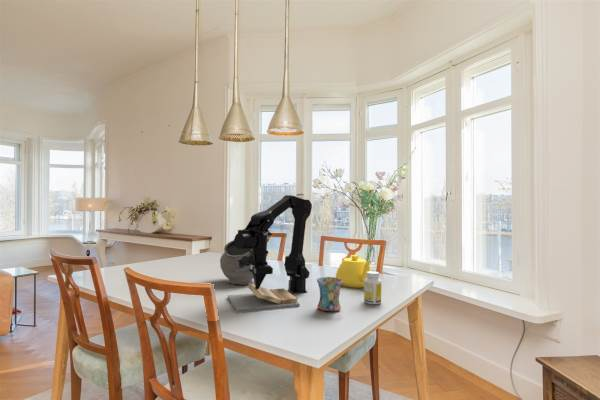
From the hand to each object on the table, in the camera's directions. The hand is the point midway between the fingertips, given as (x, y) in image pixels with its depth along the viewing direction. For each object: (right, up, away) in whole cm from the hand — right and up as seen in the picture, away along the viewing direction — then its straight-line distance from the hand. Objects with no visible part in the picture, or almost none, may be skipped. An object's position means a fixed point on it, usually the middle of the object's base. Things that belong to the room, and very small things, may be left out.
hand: (257, 288), depth 131 cm
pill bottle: (+44, -6, +3) cm, 45 cm away
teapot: (+43, -7, +33) cm, 54 cm away
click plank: (+2, -3, +1) cm, 4 cm away
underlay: (+2, -5, +1) cm, 6 cm away
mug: (+27, -6, -8) cm, 29 cm away
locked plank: (+10, -5, +4) cm, 12 cm away
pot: (-11, -5, +33) cm, 35 cm away
